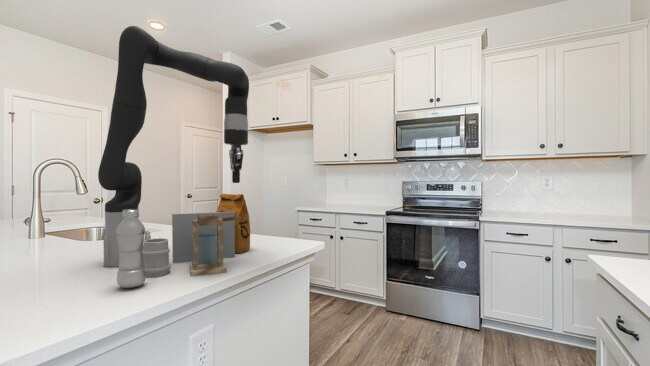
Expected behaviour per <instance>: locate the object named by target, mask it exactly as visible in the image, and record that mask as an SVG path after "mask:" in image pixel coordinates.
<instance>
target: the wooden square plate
mask: <svg viewBox="0 0 650 366" xmlns="http://www.w3.org/2000/svg"><path fill="white" fill-rule="evenodd" d="M218 218H221V219H222V220H223V221H234V220H241V217H240V216H235V217H218V216H216V215H215V214H213V216H200V215H199V214H198V223H199V225H200V226H206V225H218Z"/></svg>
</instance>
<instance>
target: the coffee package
mask: <svg viewBox="0 0 650 366" xmlns="http://www.w3.org/2000/svg"><path fill="white" fill-rule="evenodd" d="M219 198H220V200H219V203H218V206H217V208H216V212H235V216H240V217H241V220H235V254H241V253H242V252H243V253H246V252H249V251H250V250H251V225H250V215H249V210H248V207H247V203H246V202H247V201H246V199H245V195H244V194H243V193H240V194H232V193H231V194H230V193H221V194H220V195H219ZM243 253H242V254H243Z"/></svg>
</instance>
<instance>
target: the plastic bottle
mask: <svg viewBox="0 0 650 366" xmlns="http://www.w3.org/2000/svg"><path fill="white" fill-rule="evenodd" d="M122 217H124V219H123V221H122V222H121V223H120V224H119V226H118V227H117V231H116V233H117V240H118V245H119V267H118V270H117V275H116V281H117V282H116V283H117V285H118V286H119V287H120V288H121V289H132V288H137V287H139V286H142V285H144V283H145V282H146V280H147V279H146V278H147V277H146V272H145V267H144V260H143V244H144V238H145V231H146V228H145V225H144V224H143V222H142V221H141V220H140V219H139V217H140V209H139V208H138V209H125V210H123V215H122Z"/></svg>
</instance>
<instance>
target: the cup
mask: <svg viewBox="0 0 650 366" xmlns="http://www.w3.org/2000/svg"><path fill="white" fill-rule="evenodd" d="M190 262H191V266H193V235H192V236H191V261H190ZM212 263H217V233H201V234H198V265H203V264H212Z"/></svg>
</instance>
